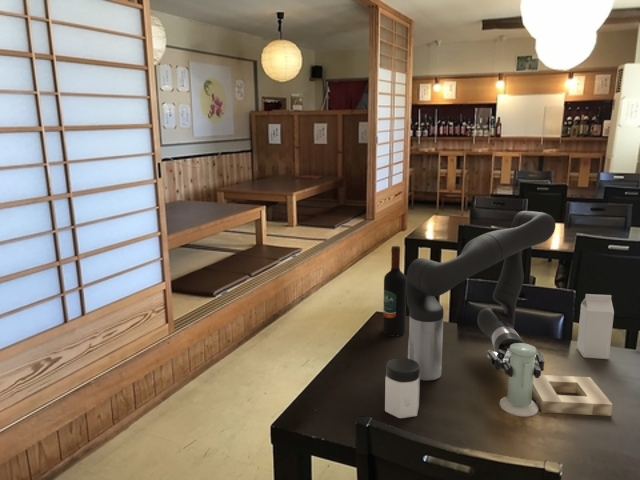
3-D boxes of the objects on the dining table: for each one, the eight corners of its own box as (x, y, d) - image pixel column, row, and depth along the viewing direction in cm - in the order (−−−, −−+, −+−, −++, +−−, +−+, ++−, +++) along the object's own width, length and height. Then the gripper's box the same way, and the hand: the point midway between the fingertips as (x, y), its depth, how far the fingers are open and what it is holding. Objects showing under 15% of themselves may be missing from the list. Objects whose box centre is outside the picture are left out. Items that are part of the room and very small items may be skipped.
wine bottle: (406, 336, 173) (409, 249, 167) (384, 336, 174) (385, 249, 167) (403, 327, 181) (405, 244, 174) (382, 327, 181) (383, 244, 175)
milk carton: (608, 359, 154) (615, 299, 150) (583, 358, 156) (589, 298, 152) (601, 349, 161) (607, 291, 157) (576, 348, 162) (582, 290, 158)
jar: (390, 420, 124) (391, 374, 121) (379, 403, 131) (380, 359, 129) (425, 415, 126) (427, 370, 123) (412, 399, 133) (413, 355, 131)
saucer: (504, 415, 125) (504, 413, 125) (496, 396, 134) (496, 394, 134) (542, 417, 124) (543, 415, 124) (532, 398, 133) (532, 396, 133)
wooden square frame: (542, 412, 126) (542, 401, 126) (526, 384, 140) (527, 374, 139) (611, 415, 124) (612, 404, 124) (588, 387, 138) (590, 377, 137)
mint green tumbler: (511, 409, 124) (515, 356, 121) (504, 393, 132) (507, 342, 129) (537, 411, 124) (541, 357, 121) (528, 394, 131) (532, 343, 128)
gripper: (481, 331, 141) (494, 358, 124) (536, 332, 139) (557, 360, 123) (480, 356, 142) (492, 386, 126) (534, 358, 141) (554, 389, 124)
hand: (524, 373), depth 124 cm, fingers closed on mint green tumbler, 5 cm apart
